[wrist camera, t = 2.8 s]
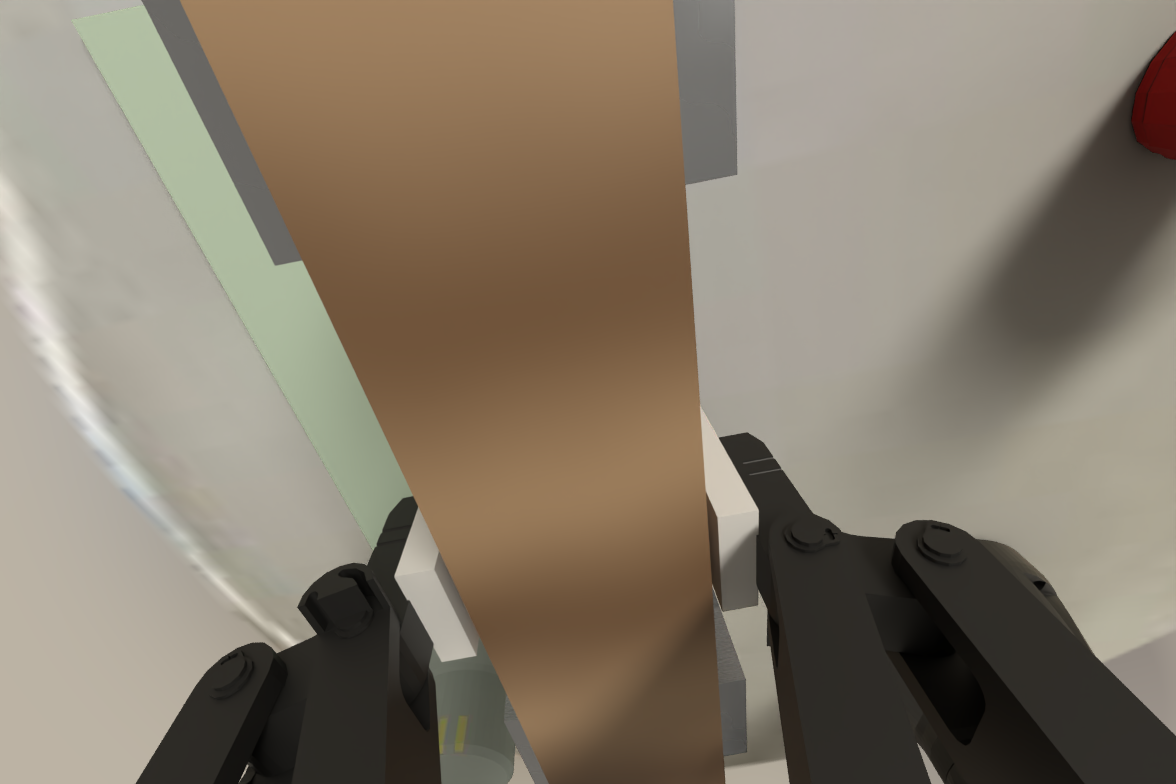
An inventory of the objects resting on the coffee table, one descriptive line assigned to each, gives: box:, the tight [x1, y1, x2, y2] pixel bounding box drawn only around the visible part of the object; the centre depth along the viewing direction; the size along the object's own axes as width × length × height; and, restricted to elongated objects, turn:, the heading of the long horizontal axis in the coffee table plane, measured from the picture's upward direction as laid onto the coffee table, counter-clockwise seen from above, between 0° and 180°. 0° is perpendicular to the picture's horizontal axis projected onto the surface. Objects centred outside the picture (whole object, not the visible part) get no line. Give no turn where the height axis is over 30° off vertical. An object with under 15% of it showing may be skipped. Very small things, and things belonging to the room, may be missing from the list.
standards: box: [142, 0, 747, 784], centre depth 17 cm, size 26×10×14 cm, turn 10°
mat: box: [71, 5, 413, 551], centre depth 23 cm, size 28×9×1 cm, turn 10°
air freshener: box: [429, 637, 515, 784], centre depth 29 cm, size 11×8×10 cm
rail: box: [180, 0, 725, 784], centre depth 11 cm, size 29×5×5 cm, turn 10°
